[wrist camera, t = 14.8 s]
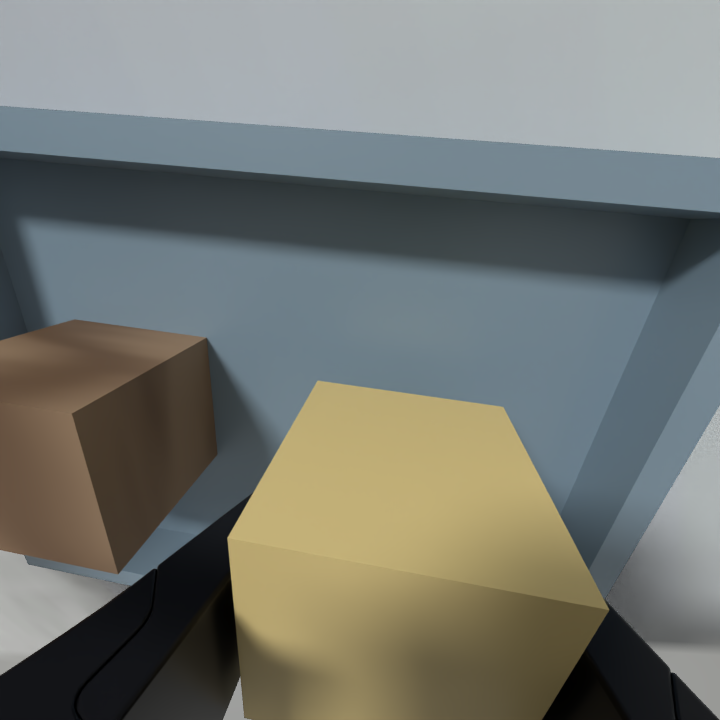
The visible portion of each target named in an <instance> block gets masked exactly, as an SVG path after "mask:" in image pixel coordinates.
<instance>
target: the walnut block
mask: <svg viewBox="0 0 720 720" xmlns="http://www.w3.org/2000/svg"><path fill="white" fill-rule="evenodd" d="M217 455H218V453H217V442H216V432H215V421H214V410H213V399H212V389H211V378H210V367H209V357H208V346H207V338H206V337H199V336H192V335H185V334H177V333H170V332H163V331H156V330H148V329H141V328H134V327H127V326H119V325H112V324H105V323H98V322H90V321H83V320H76V319H74V320H70V321H67V322H63V323H60V324H56V325H53V326H49V327H46V328H42V329H39V330H35V331H32V332H28V333H25V334H21V335H18V336H14V337H11V338H7V339H4V340H0V550H3V551H8V552H13V553H17V554H22V555H27V556H32V557H37V558H41V559H46V560H51V561H56V562H61V563H65V564H70V565H75V566H80V567H84V568H89V569H94V570H99V571H104V572H108V573H113V574H119V573H120V572H121V571H122V569H123V568H124V567H125V566H126V565H127V563H128V562H129V561H130V560H131V559H132V557H133V556H134V555H135V554H136V552H137V551H138V550H139V549H140V548H141V546H142V545H143V544H144V543H145V542H146V540H147V539H148V538H149V537H150V536H151V534H152V533H153V532H154V531H155V530H156V528H157V527H158V526H159V525H160V523H161V522H162V521H163V520H164V519H165V517H166V516H167V515H168V514H169V513H170V511H171V510H172V509H173V508H174V507H175V505H176V504H177V503H178V502H179V500H180V499H181V498H182V497H183V496H184V494H185V493H186V492H187V491H188V490H189V488H190V487H191V486H192V485H193V484H194V482H195V481H196V480H197V479H198V477H199V476H200V475H201V474H202V473H203V471H204V470H205V469H206V468H207V467H208V465H209V464H210V463H211V462H212V461H213V459H214V458H215V457H216V456H217Z"/></svg>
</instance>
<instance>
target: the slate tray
mask: <svg viewBox="0 0 720 720" xmlns="http://www.w3.org/2000/svg"><path fill="white" fill-rule="evenodd" d="M74 319H76V320H83V321H90V322H98V323H105V324H112V325H119V326H127V327H134V328H141V329H148V330H156V331H163V332H170V333H177V334H185V335H192V336H199V337H206V338H207V346H208V357H209V367H210V378H211V389H212V399H213V410H214V421H215V432H216V442H217V453H218V455H217V456H216V457H215V458H214V459H213V461H212V462H211V463H210V464H209V465H208V467H207V468H206V469H205V470H204V471H203V473H202V474H201V475H200V476H199V477H198V479H197V480H196V481H195V482H194V484H193V485H192V486H191V487H190V488H189V490H188V491H187V492H186V493H185V494H184V496H183V497H182V498H181V499H180V500H179V502H178V503H177V504H176V505H175V507H174V508H173V509H172V510H171V511H170V513H169V514H168V515H167V516H166V517H165V519H164V520H163V521H162V522H161V523H160V525H159V526H158V527H157V528H156V530H155V531H154V532H153V533H152V534H151V536H150V537H149V538H148V539H147V540H146V542H145V543H144V544H143V545H142V546H141V548H140V549H139V550H138V551H137V552H136V554H135V555H134V556H133V557H132V559H131V560H130V561H129V562H128V563H127V565H126V566H125V567H124V568H123V569H122V571H121V572H120V573H119V574H113V573H108V572H104V571H99V570H94V569H89V568H84V567H80V566H75V565H70V564H65V563H61V562H56V561H51V560H46V559H41V558H37V557H32V556H27V555H24V556H25V558H26V560H27V563H28V564H29V565H34V566H39V567H43V568H48V569H53V570H58V571H63V572H67V573H72V574H77V575H82V576H87V577H91V578H96V579H101V580H106V581H110V582H115V583H120V584H125V585H130V586H131V585H133V584H134V583H135V582H137V581H138V580H139V579H141V578H142V577H143V576H144V575H146V574H147V573H148V572H150V571H151V570H152V569H154V568H155V569H157V567H158V565H159V564H160V563H162V562H163V561H164V560H166V559H167V558H168V557H169V556H171V555H172V554H173V553H175V552H176V551H177V550H179V549H180V548H181V547H182V546H184V545H185V544H186V543H188V542H189V541H190V540H192V539H193V538H194V537H195V536H197V535H198V534H199V533H201V532H202V531H203V530H205V529H206V528H207V527H208V526H210V525H211V524H212V523H214V522H215V521H216V520H218V519H219V518H220V517H222V516H223V515H224V514H225V513H227V512H228V511H229V510H231V509H232V508H233V507H235V506H236V505H237V504H238V503H240V502H241V501H242V500H244V499H245V498H246V497H248V496H249V495H250V494H251V493H253V492H254V491H255V489H256V487H257V485H258V484H259V482H260V480H261V479H262V477H263V475H264V473H265V472H266V470H267V468H268V466H269V465H270V463H271V461H272V459H273V458H274V456H275V454H276V452H277V451H278V449H279V447H280V445H281V444H282V442H283V440H284V438H285V437H286V435H287V433H288V431H289V430H290V428H291V426H292V424H293V423H294V421H295V419H296V417H297V416H298V414H299V412H300V410H301V409H302V407H303V405H304V404H305V402H306V400H307V398H308V397H309V395H310V393H311V391H312V390H313V388H314V386H315V384H316V383H317V381H324V382H331V383H338V384H345V385H352V386H359V387H367V388H374V389H381V390H388V391H395V392H402V393H409V394H416V395H423V396H430V397H437V398H444V399H451V400H458V401H465V402H473V403H480V404H487V405H494V406H501V407H504V409H505V411H506V413H507V415H508V417H509V419H510V421H511V423H512V425H513V427H514V428H515V430H516V432H517V434H518V436H519V438H520V440H521V442H522V444H523V446H524V448H525V449H526V451H527V453H528V455H529V457H530V459H531V461H532V463H533V465H534V467H535V469H536V471H537V472H538V474H539V476H540V478H541V480H542V482H543V484H544V486H545V488H546V490H547V492H548V494H549V495H550V497H551V499H552V501H553V503H554V505H555V507H556V509H557V511H558V513H559V515H560V516H561V518H562V520H563V522H564V524H565V526H566V528H567V530H568V532H569V534H570V536H571V538H572V539H573V541H574V543H575V545H576V547H577V549H578V551H579V553H580V555H581V557H582V559H583V561H584V562H585V564H586V566H587V568H588V570H589V572H590V574H591V576H592V578H593V580H594V582H595V583H596V585H597V587H598V589H599V591H600V593H601V595H602V597H603V598H604V599H605V598H606V597H607V595H608V593H609V591H610V590H611V588H612V586H613V585H614V583H615V581H616V580H617V578H618V576H619V575H620V573H621V571H622V569H623V568H624V566H625V564H626V563H627V561H628V559H629V558H630V556H631V554H632V553H633V551H634V549H635V547H636V546H637V544H638V542H639V541H640V539H641V537H642V536H643V534H644V532H645V531H646V529H647V527H648V525H649V524H650V522H651V520H652V519H653V517H654V515H655V514H656V512H657V510H658V509H659V507H660V505H661V504H662V502H663V500H664V498H665V497H666V495H667V493H668V492H669V490H670V488H671V487H672V485H673V483H674V482H675V480H676V478H677V476H678V475H679V473H680V471H681V470H682V468H683V466H684V465H685V463H686V461H687V460H688V458H689V456H690V454H691V453H692V451H693V449H694V448H695V446H696V444H697V443H698V441H699V439H700V438H701V436H702V434H703V432H704V431H705V429H706V427H707V426H708V424H709V422H710V421H711V419H712V417H713V416H714V414H715V412H716V410H717V409H718V407H719V405H720V158H710V157H696V156H682V155H668V154H654V153H641V152H627V151H613V150H599V149H586V148H572V147H558V146H544V145H530V144H517V143H503V142H489V141H475V140H461V139H448V138H434V137H420V136H406V135H393V134H379V133H365V132H351V131H337V130H324V129H310V128H296V127H282V126H268V125H255V124H241V123H227V122H213V121H200V120H186V119H172V118H158V117H144V116H131V115H117V114H103V113H89V112H76V111H62V110H48V109H34V108H20V107H7V106H0V340H4V339H7V338H11V337H14V336H18V335H21V334H25V333H28V332H32V331H35V330H39V329H42V328H46V327H49V326H53V325H56V324H60V323H63V322H67V321H70V320H74Z"/></svg>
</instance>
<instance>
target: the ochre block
mask: <svg viewBox="0 0 720 720" xmlns="http://www.w3.org/2000/svg"><path fill="white" fill-rule="evenodd" d="M227 539H228V550H229V560H230V571H231V581H232V592H233V602H234V613H235V623H236V634H237V645H238V655H239V666H240V676H241V687H242V697H243V708H244V718H247V719H252V720H542V719H543V717H544V716H545V714H546V712H547V711H548V709H549V708H550V706H551V704H552V703H553V701H554V699H555V698H556V696H557V694H558V693H559V691H560V690H561V688H562V686H563V685H564V683H565V681H566V680H567V678H568V677H569V675H570V673H571V672H572V670H573V668H574V667H575V665H576V664H577V662H578V660H579V659H580V657H581V655H582V654H583V652H584V650H585V649H586V647H587V646H588V644H589V642H590V641H591V639H592V637H593V636H594V634H595V633H596V631H597V629H598V628H599V626H600V624H601V623H602V621H603V620H604V618H605V616H606V615H607V613H608V611H609V608H608V606H607V605H606V603H605V601H604V599H603V597H602V595H601V593H600V591H599V589H598V587H597V585H596V583H595V582H594V580H593V578H592V576H591V574H590V572H589V570H588V568H587V566H586V564H585V562H584V561H583V559H582V557H581V555H580V553H579V551H578V549H577V547H576V545H575V543H574V541H573V539H572V538H571V536H570V534H569V532H568V530H567V528H566V526H565V524H564V522H563V520H562V518H561V516H560V515H559V513H558V511H557V509H556V507H555V505H554V503H553V501H552V499H551V497H550V495H549V494H548V492H547V490H546V488H545V486H544V484H543V482H542V480H541V478H540V476H539V474H538V472H537V471H536V469H535V467H534V465H533V463H532V461H531V459H530V457H529V455H528V453H527V451H526V449H525V448H524V446H523V444H522V442H521V440H520V438H519V436H518V434H517V432H516V430H515V428H514V427H513V425H512V423H511V421H510V419H509V417H508V415H507V413H506V411H505V409H504V407H501V406H494V405H487V404H480V403H473V402H465V401H458V400H451V399H444V398H437V397H430V396H423V395H416V394H409V393H402V392H395V391H388V390H381V389H374V388H367V387H359V386H352V385H345V384H338V383H331V382H324V381H317V383H316V384H315V386H314V388H313V390H312V391H311V393H310V395H309V397H308V398H307V400H306V402H305V404H304V405H303V407H302V409H301V410H300V412H299V414H298V416H297V417H296V419H295V421H294V423H293V424H292V426H291V428H290V430H289V431H288V433H287V435H286V437H285V438H284V440H283V442H282V444H281V445H280V447H279V449H278V451H277V452H276V454H275V456H274V458H273V459H272V461H271V463H270V465H269V466H268V468H267V470H266V472H265V473H264V475H263V477H262V479H261V480H260V482H259V484H258V485H257V487H256V489H255V491H254V492H253V494H252V496H251V498H250V499H249V501H248V503H247V505H246V506H245V508H244V510H243V512H242V513H241V515H240V517H239V519H238V520H237V522H236V524H235V526H234V527H233V529H232V531H231V533H230V534H229V536H228V538H227Z"/></svg>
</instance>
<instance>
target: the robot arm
mask: <svg viewBox="0 0 720 720" xmlns="http://www.w3.org/2000/svg"><path fill="white" fill-rule="evenodd" d="M252 494H253V493H251V494H250V495H249V496H248V497H246V498H245V499H244V500H242V501H241V502H240V503H238V504H237V505H236V506H235V507H233V508H232V509H231V510H229V511H228V512H227V513H225V514H224V515H223V516H222V517H220V518H219V519H218V520H216V521H215V522H214V523H212V524H211V525H210V526H208V527H207V528H206V529H205V530H203V531H202V532H201V533H199V534H198V535H197V536H195V537H194V538H193V539H192V540H190V541H189V542H188V543H186V544H185V545H184V546H182V547H181V548H180V549H179V550H177V551H176V552H175V553H173V554H172V555H171V556H169V557H168V558H167V559H166V560H164V561H163V562H162V563H160V564H159V565H158V567H157V569H155V568H154V569H152V570H151V571H150V572H148V573H147V574H146V575H144V576H143V577H142V578H141V579H139V580H138V581H137V582H135V583H134V584H133V585H131V586H130V587H129V588H127V589H126V590H125V591H123V592H122V593H120V594H119V595H118V596H116V597H115V598H114V599H112V600H111V601H110V602H108V603H107V604H106V605H104V606H103V607H102V608H100V609H99V610H97V611H96V612H94V613H93V614H91V615H90V616H88V617H87V618H85V619H84V620H83V621H81V622H80V623H78V624H77V625H75V626H74V627H72V628H71V629H69V630H68V631H67V632H65V633H64V634H62V635H61V636H59V637H58V638H56V639H55V640H53V641H52V642H50V643H49V644H47V645H46V646H44V647H43V648H41V649H40V650H38V651H37V652H35V653H34V654H32V655H31V656H29V657H28V658H26V659H24V660H23V661H21V662H20V663H18V664H17V665H15V666H14V667H12V668H11V669H9V670H8V671H7V672H5V673H3V674H2V675H0V720H223V718H224V715H225V713H226V710H227V708H228V705H229V703H230V700H231V698H232V696H233V693H234V691H235V688H236V686H237V683H238V681H239V678H240V666H239V655H238V645H237V634H236V623H235V613H234V602H233V592H232V581H231V571H230V560H229V550H228V539H227V538H228V536H229V534H230V533H231V531H232V529H233V527H234V526H235V524H236V522H237V520H238V519H239V517H240V515H241V513H242V512H243V510H244V508H245V506H246V505H247V503H248V501H249V499H250V498H251V496H252ZM603 599H604V598H603ZM604 601H605V603H606V605H607V606H608V608H609V611H608V613H607V615H606V616H605V618H604V620H603V621H602V623H601V624H600V626H599V628H598V629H597V631H596V633H595V634H594V636H593V637H592V639H591V641H590V642H589V644H588V646H587V647H586V649H585V650H584V652H583V654H582V655H581V657H580V659H579V660H578V662H577V664H576V665H575V667H574V668H573V670H572V672H571V673H570V675H569V677H568V678H567V680H566V681H565V683H564V685H563V686H562V688H561V690H560V691H559V693H558V694H557V696H556V698H555V699H554V701H553V703H552V704H551V706H550V708H549V709H548V711H547V712H546V714H545V716H544V717H543V719H542V720H719V719H718V718H717V717H716V716H715V715H714V714H713V713H712V711H711V710H710V709H709V708H708V707H707V706H706V705H705V704H704V703H703V702H702V701H701V700H700V699H699V698H698V697H697V696H696V695H695V694H694V693H693V692H692V691H691V690H690V689H689V688H688V687H687V686H686V684H685V683H684V682H683V681H682V680H681V679H680V678H679V677H678V676H677V675H676V674H675V673H671V672H670V668H669V667H668V666H667V665H666V663H665V662H664V661H663V660H662V659H661V658H660V657H659V656H658V655H657V654H656V653H655V652H654V651H653V650H652V649H651V648H650V647H649V645H648V644H647V643H646V642H645V641H644V640H643V639H642V638H641V637H640V636H639V635H638V634H637V633H636V632H635V631H634V630H633V629H632V627H631V626H630V625H629V624H628V623H627V622H626V621H625V620H624V619H623V618H622V617H621V616H620V615H619V614H618V613H617V612H616V611H615V610H614V608H613V607H612V606H611V605H610V604H609V603H608V602H607V601H606V600H605V599H604Z"/></svg>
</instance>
